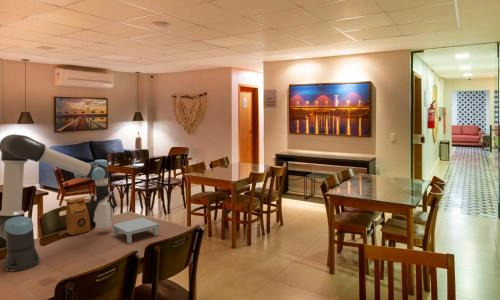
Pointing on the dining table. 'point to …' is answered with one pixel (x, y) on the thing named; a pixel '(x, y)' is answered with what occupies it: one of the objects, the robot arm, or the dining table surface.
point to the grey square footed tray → (135, 227)
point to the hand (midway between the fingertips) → (103, 220)
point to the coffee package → (77, 216)
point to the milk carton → (103, 214)
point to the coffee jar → (91, 214)
